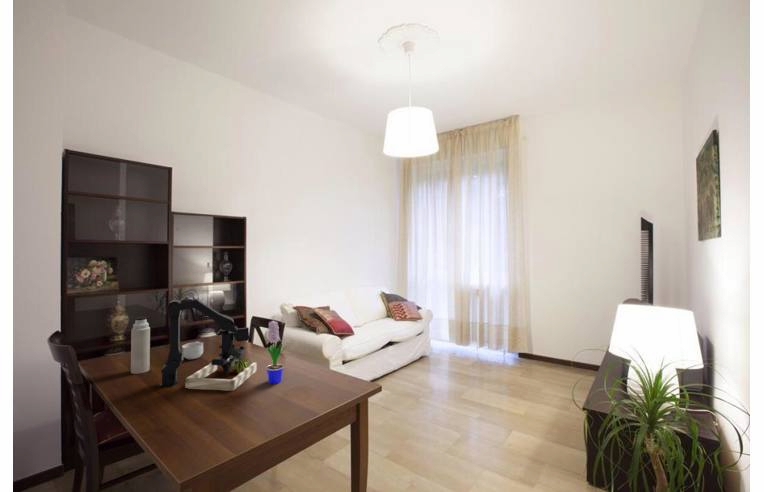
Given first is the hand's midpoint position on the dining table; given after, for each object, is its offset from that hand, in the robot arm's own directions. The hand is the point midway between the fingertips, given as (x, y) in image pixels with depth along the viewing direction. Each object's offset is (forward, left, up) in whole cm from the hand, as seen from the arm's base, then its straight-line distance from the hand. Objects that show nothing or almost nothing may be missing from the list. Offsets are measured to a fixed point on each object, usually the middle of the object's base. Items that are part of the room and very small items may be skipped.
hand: (226, 373), depth 172 cm
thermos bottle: (+3, +48, -2) cm, 48 cm away
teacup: (+27, +34, -2) cm, 43 cm away
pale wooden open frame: (-3, 0, -2) cm, 4 cm away
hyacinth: (-3, -27, -2) cm, 27 cm away
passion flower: (+9, 0, -2) cm, 9 cm away
